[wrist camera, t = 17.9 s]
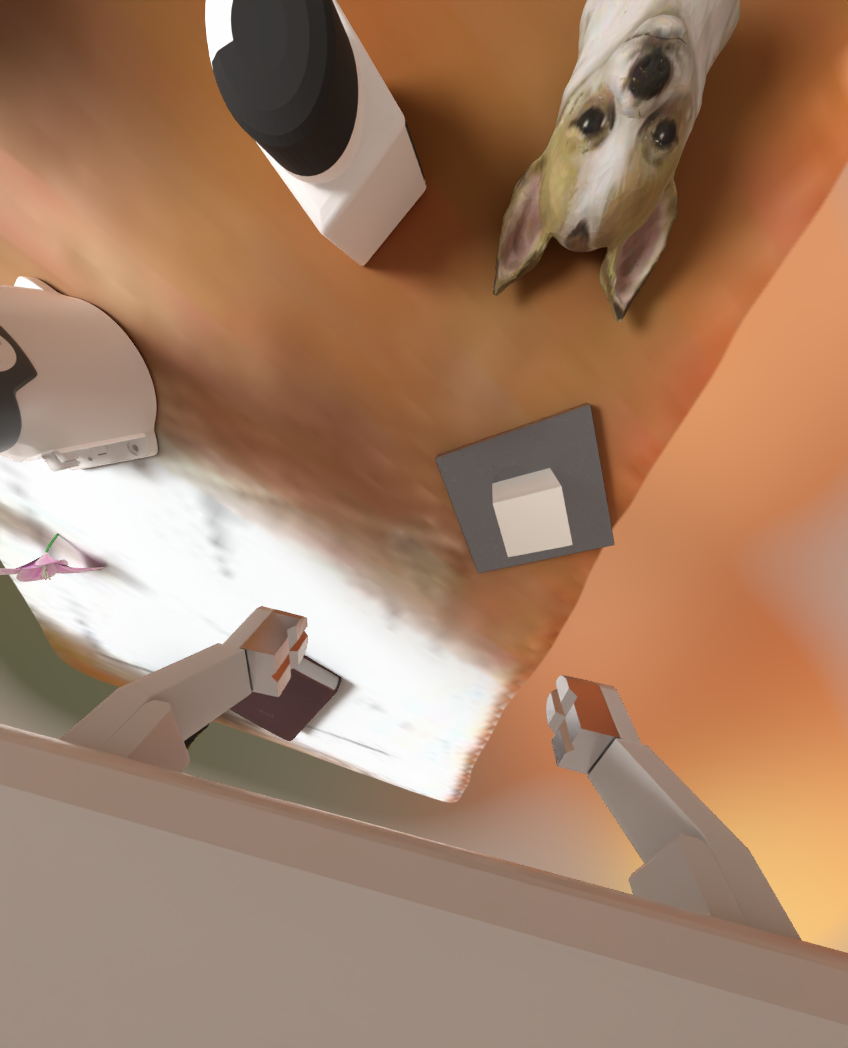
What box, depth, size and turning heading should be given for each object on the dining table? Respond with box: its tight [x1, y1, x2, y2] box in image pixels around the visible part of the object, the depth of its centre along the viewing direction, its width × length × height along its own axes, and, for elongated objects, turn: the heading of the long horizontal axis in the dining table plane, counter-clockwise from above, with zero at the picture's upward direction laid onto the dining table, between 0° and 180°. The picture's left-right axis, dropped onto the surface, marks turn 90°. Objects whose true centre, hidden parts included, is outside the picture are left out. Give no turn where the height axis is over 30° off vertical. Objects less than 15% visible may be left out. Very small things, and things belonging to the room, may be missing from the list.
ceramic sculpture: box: [493, 0, 740, 322], centre depth 17 cm, size 11×9×15 cm
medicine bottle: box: [205, 0, 427, 266], centre depth 18 cm, size 7×7×12 cm
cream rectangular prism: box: [492, 468, 573, 557], centre depth 28 cm, size 5×5×5 cm
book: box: [230, 655, 341, 741], centre depth 54 cm, size 14×22×4 cm, turn 146°
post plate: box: [435, 403, 614, 573], centre depth 29 cm, size 14×14×5 cm
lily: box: [0, 534, 105, 582], centre depth 46 cm, size 11×11×9 cm
